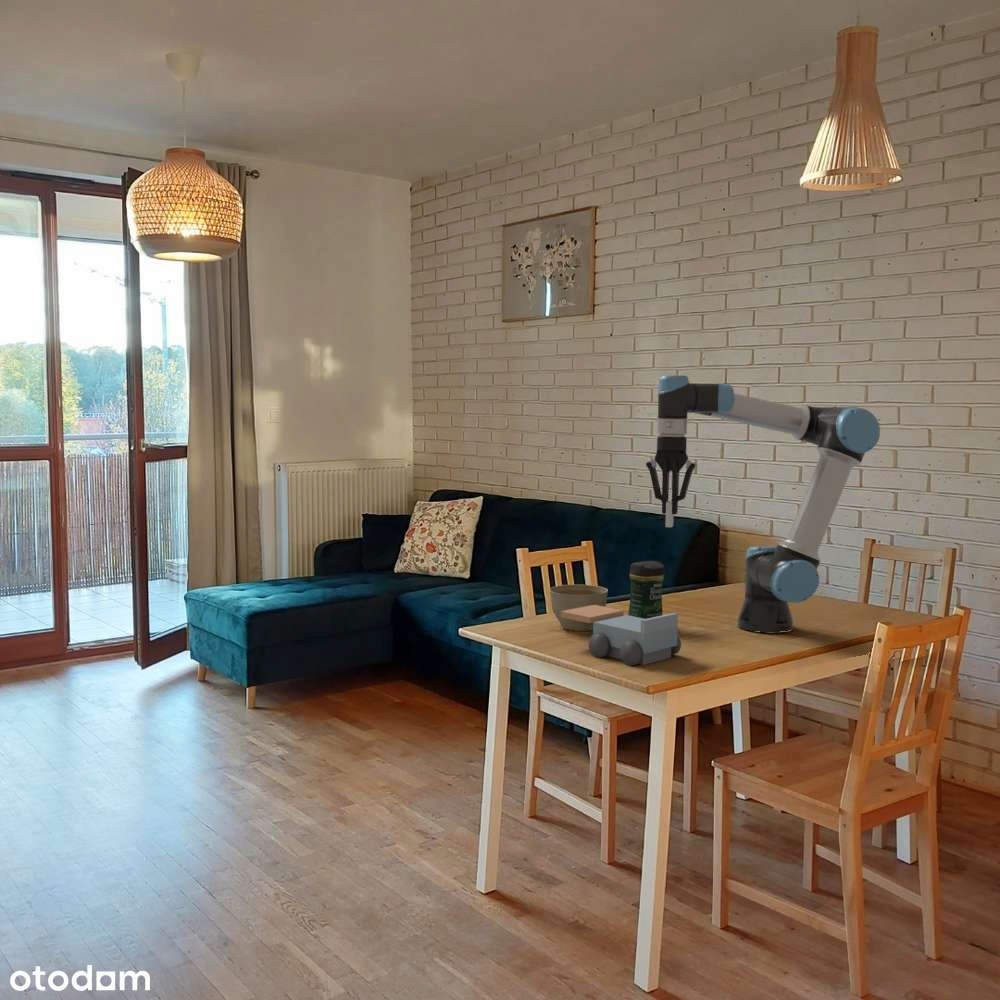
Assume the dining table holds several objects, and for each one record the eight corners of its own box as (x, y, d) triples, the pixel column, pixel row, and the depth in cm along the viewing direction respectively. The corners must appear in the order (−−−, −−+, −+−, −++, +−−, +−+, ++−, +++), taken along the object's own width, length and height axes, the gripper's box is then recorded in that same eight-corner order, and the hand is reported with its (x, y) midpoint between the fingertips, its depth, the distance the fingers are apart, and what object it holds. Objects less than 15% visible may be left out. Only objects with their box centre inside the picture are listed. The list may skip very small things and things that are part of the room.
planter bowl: (575, 619, 292) (576, 582, 291) (618, 628, 280) (619, 590, 279) (536, 627, 281) (537, 588, 280) (579, 637, 269) (580, 597, 268)
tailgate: (623, 610, 261) (594, 604, 268) (590, 617, 252) (560, 611, 259) (623, 617, 261) (594, 611, 268) (590, 624, 252) (560, 618, 259)
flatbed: (681, 656, 250) (682, 612, 249) (638, 667, 239) (639, 621, 238) (630, 644, 262) (631, 602, 261) (587, 655, 250) (588, 611, 249)
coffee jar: (643, 631, 277) (644, 564, 275) (623, 626, 283) (624, 560, 281) (668, 627, 283) (669, 561, 281) (647, 622, 289) (649, 558, 287)
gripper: (643, 435, 259) (641, 526, 262) (694, 436, 255) (691, 529, 257) (650, 434, 266) (647, 523, 269) (699, 435, 262) (697, 526, 264)
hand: (669, 526), depth 263 cm, fingers closed
